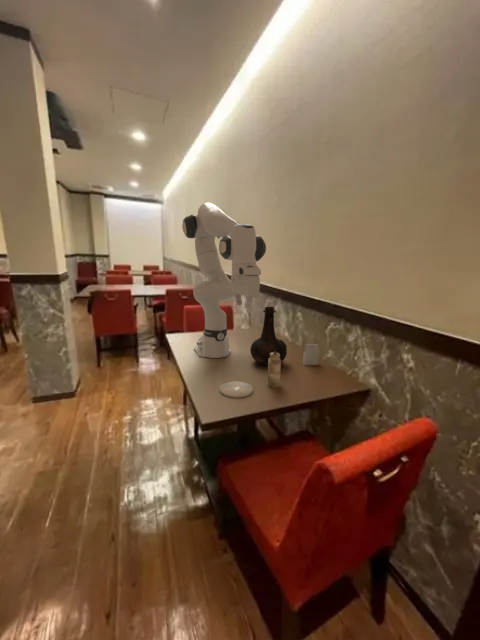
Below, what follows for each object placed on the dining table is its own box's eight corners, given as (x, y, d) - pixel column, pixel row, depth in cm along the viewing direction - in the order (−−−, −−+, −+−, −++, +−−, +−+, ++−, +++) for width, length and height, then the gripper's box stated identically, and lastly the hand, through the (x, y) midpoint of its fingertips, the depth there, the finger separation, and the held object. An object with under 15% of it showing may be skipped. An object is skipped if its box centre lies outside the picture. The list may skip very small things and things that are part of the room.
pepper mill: (265, 384, 128) (266, 350, 125) (274, 381, 131) (276, 349, 128) (272, 388, 124) (273, 354, 121) (282, 386, 126) (283, 352, 123)
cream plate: (214, 387, 124) (214, 385, 123) (241, 381, 130) (241, 379, 130) (229, 400, 113) (230, 398, 113) (259, 393, 119) (259, 390, 119)
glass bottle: (285, 370, 143) (288, 311, 138) (247, 367, 147) (248, 309, 141) (287, 358, 160) (290, 305, 155) (252, 355, 164) (254, 303, 158)
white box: (318, 365, 152) (319, 345, 150) (304, 365, 151) (306, 345, 149) (315, 362, 156) (317, 343, 154) (302, 362, 155) (303, 343, 153)
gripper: (226, 268, 122) (226, 303, 125) (246, 270, 103) (245, 311, 106) (241, 268, 124) (241, 302, 127) (263, 270, 106) (262, 310, 108)
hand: (243, 306), depth 116 cm, fingers open, 8 cm apart
